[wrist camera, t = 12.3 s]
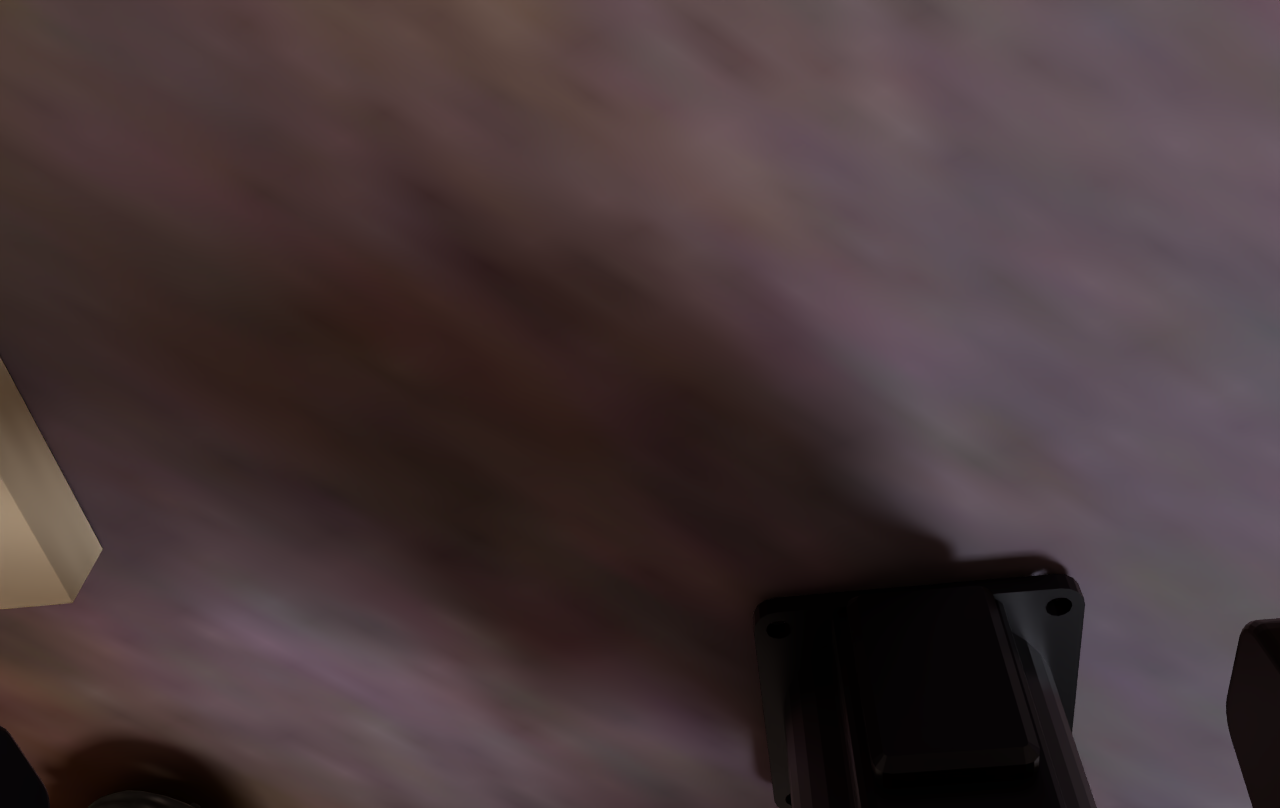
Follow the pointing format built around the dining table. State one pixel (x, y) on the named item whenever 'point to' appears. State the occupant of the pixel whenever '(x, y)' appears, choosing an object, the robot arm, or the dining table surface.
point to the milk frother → (139, 801)
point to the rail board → (37, 515)
